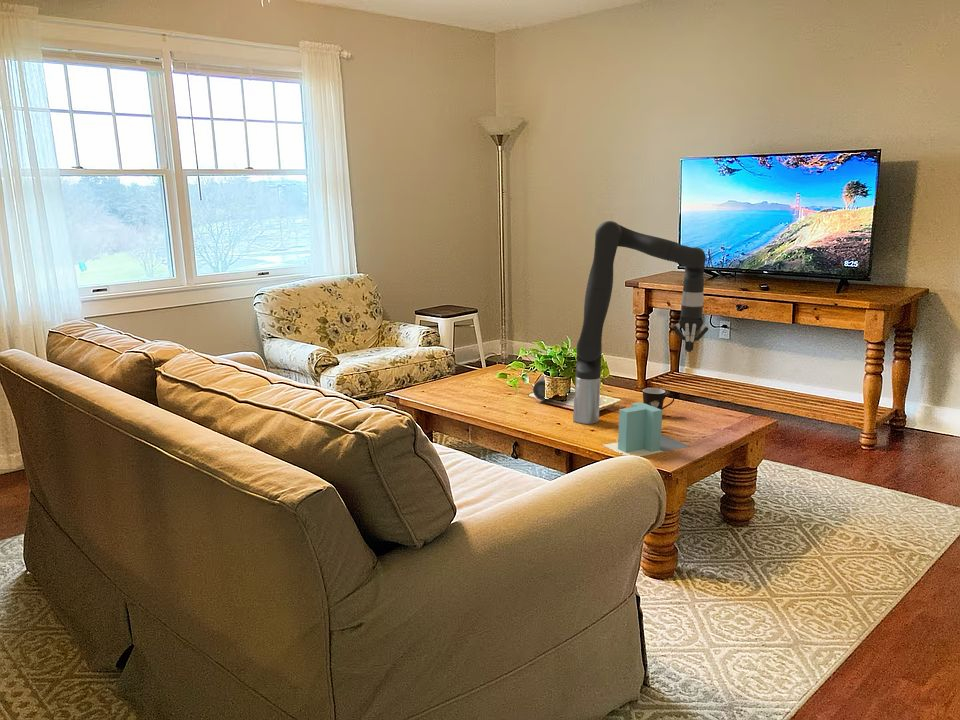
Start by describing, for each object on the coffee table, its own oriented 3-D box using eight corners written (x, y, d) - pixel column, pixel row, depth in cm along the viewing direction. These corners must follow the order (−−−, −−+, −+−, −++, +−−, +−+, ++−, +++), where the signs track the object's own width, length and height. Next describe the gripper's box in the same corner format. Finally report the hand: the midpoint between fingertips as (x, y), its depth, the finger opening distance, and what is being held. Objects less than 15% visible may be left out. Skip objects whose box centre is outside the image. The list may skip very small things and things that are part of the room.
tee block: (638, 440, 274) (640, 402, 271) (660, 449, 265) (662, 410, 262) (611, 446, 269) (612, 406, 266) (632, 455, 259) (634, 415, 256)
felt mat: (660, 436, 282) (661, 433, 282) (690, 448, 269) (690, 446, 269) (602, 447, 270) (602, 444, 270) (630, 460, 257) (630, 458, 257)
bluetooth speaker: (553, 404, 321) (553, 380, 319) (531, 401, 325) (531, 378, 323) (569, 391, 342) (569, 368, 340) (548, 388, 345) (549, 366, 343)
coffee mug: (638, 416, 305) (639, 392, 303) (644, 411, 312) (646, 386, 310) (668, 421, 300) (669, 395, 297) (674, 415, 307) (675, 390, 305)
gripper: (672, 304, 280) (669, 352, 284) (711, 306, 276) (707, 354, 280) (673, 301, 287) (670, 348, 291) (711, 303, 283) (708, 350, 287)
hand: (689, 351), depth 285 cm, fingers closed
